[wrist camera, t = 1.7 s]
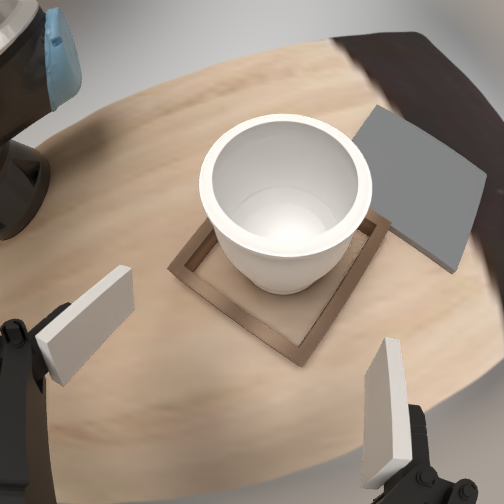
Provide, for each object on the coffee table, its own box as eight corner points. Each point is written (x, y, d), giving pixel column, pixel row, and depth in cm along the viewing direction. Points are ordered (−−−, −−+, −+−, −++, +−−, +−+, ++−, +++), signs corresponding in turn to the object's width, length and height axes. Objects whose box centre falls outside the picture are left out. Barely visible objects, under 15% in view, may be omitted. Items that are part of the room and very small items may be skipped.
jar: (339, 218, 33) (372, 125, 19) (327, 313, 30) (368, 271, 16) (242, 203, 35) (220, 105, 21) (221, 295, 32) (176, 239, 18)
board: (320, 187, 35) (321, 182, 34) (375, 109, 38) (377, 104, 37) (451, 273, 30) (455, 271, 29) (483, 178, 34) (486, 174, 33)
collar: (176, 276, 33) (166, 268, 30) (267, 164, 36) (266, 149, 34) (299, 366, 29) (302, 366, 26) (383, 233, 32) (391, 222, 30)
